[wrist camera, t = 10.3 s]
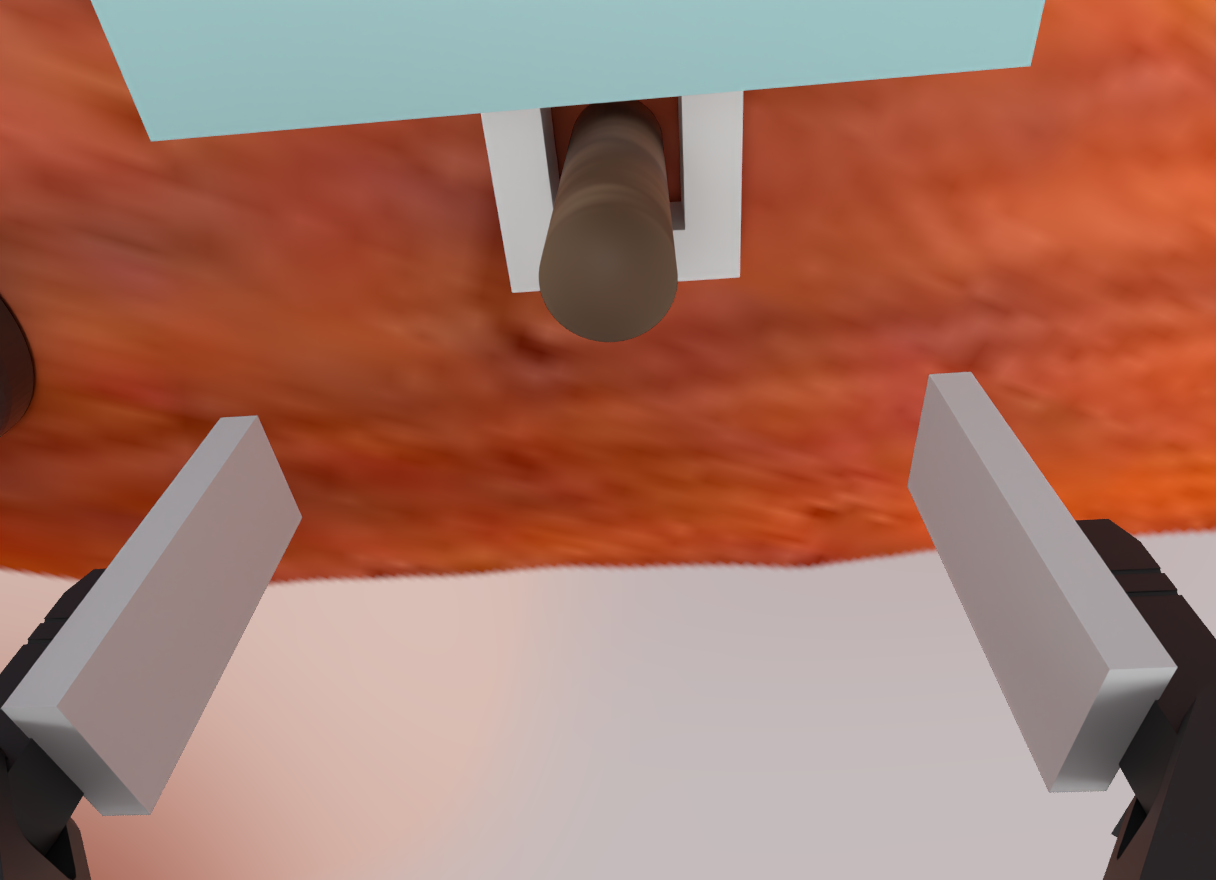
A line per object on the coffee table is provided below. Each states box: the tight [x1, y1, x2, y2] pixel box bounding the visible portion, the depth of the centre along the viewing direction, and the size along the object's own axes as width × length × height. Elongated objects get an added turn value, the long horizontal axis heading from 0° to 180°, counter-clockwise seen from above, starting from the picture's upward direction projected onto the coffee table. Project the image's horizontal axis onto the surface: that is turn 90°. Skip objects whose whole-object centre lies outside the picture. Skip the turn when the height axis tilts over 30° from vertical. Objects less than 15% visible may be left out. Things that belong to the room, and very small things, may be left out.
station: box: [91, 0, 1045, 293], centre depth 22 cm, size 16×20×20 cm
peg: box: [539, 100, 678, 342], centre depth 27 cm, size 4×4×14 cm
